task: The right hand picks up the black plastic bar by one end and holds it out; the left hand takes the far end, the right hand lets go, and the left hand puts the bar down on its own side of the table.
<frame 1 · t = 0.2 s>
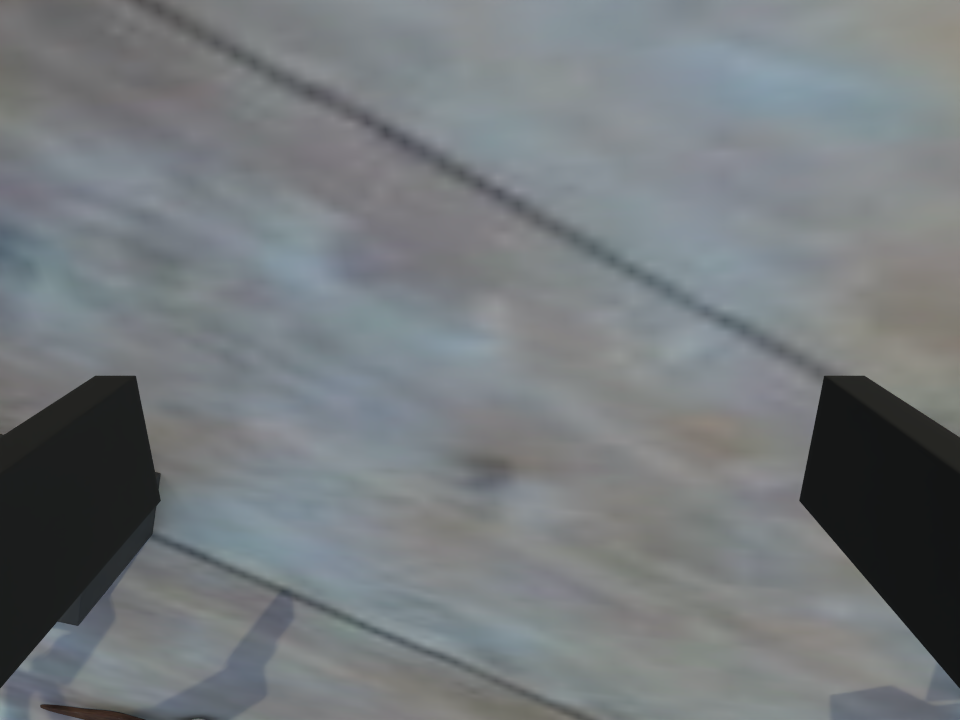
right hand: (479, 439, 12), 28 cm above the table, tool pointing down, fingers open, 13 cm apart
fork: (146, 716, 52), on the table
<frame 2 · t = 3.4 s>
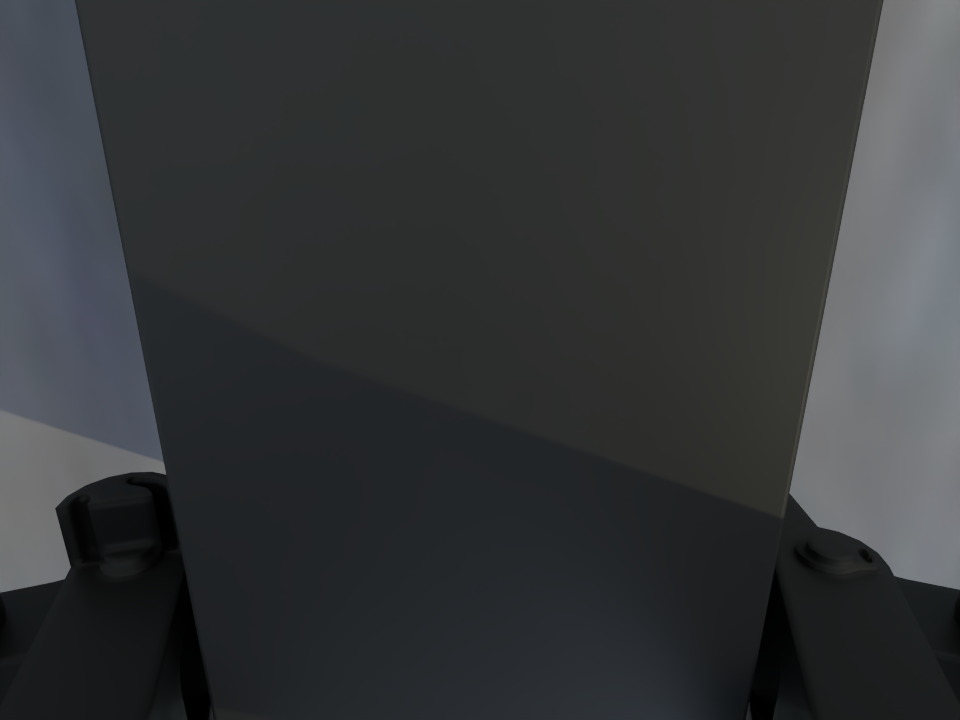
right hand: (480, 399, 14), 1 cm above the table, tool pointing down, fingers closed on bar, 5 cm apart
bar: (479, 0, 12), on the table, touching right hand
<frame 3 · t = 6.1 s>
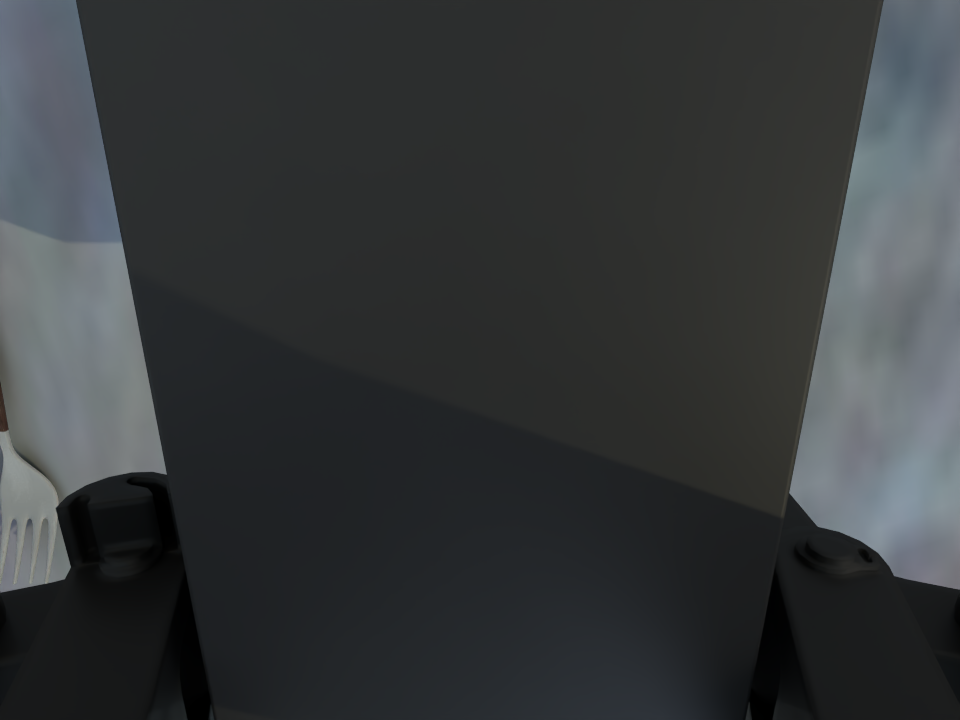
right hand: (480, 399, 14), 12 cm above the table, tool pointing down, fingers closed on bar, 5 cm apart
bar: (479, 0, 12), point 12 cm above the table, touching right hand
fork: (5, 399, 27), on the table
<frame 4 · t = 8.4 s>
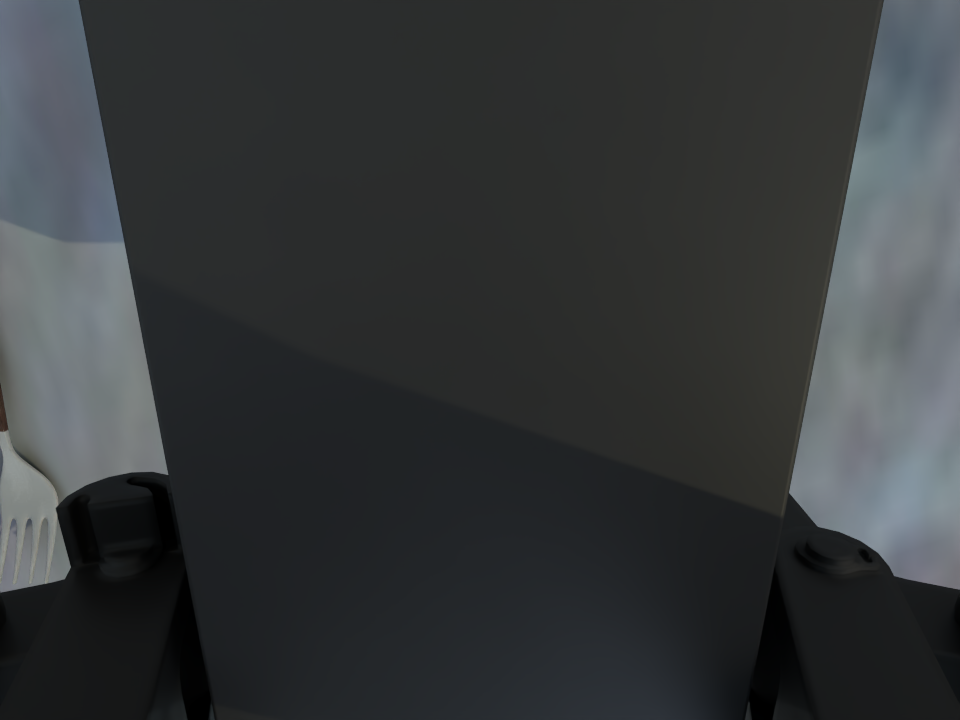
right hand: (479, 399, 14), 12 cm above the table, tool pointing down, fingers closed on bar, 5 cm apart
bar: (480, 0, 12), point 12 cm above the table, touching right hand, left hand
fork: (4, 399, 27), on the table
when the right hand's fingers open (12 cm above the table, at t = 9.1 s): bar stays where it is, held by the left hand.
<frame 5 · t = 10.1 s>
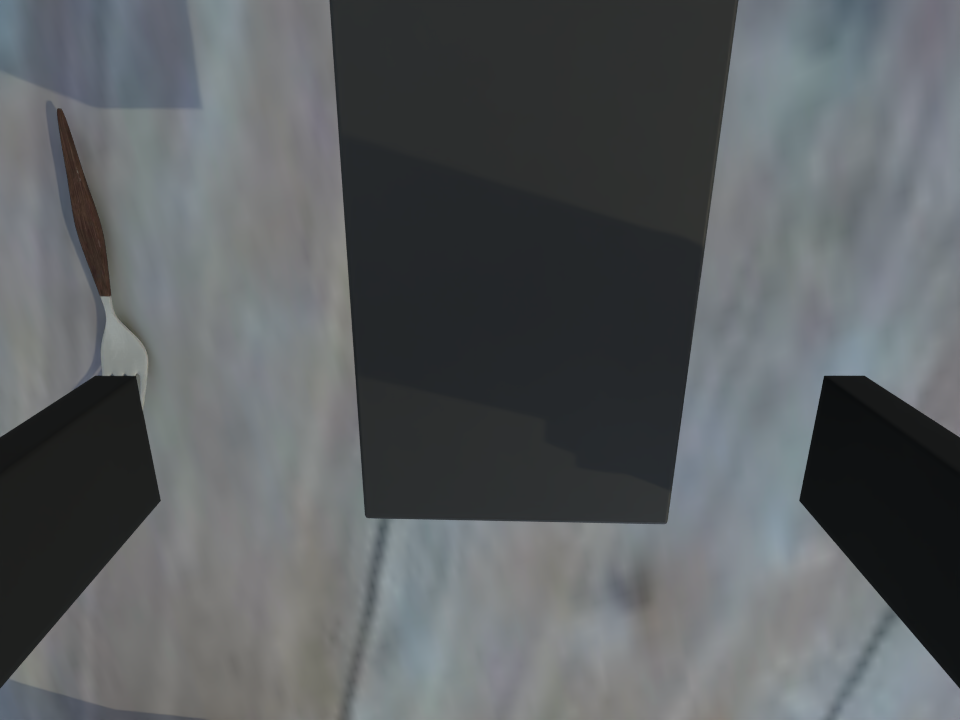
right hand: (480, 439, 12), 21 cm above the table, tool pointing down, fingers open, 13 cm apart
fork: (108, 271, 33), on the table
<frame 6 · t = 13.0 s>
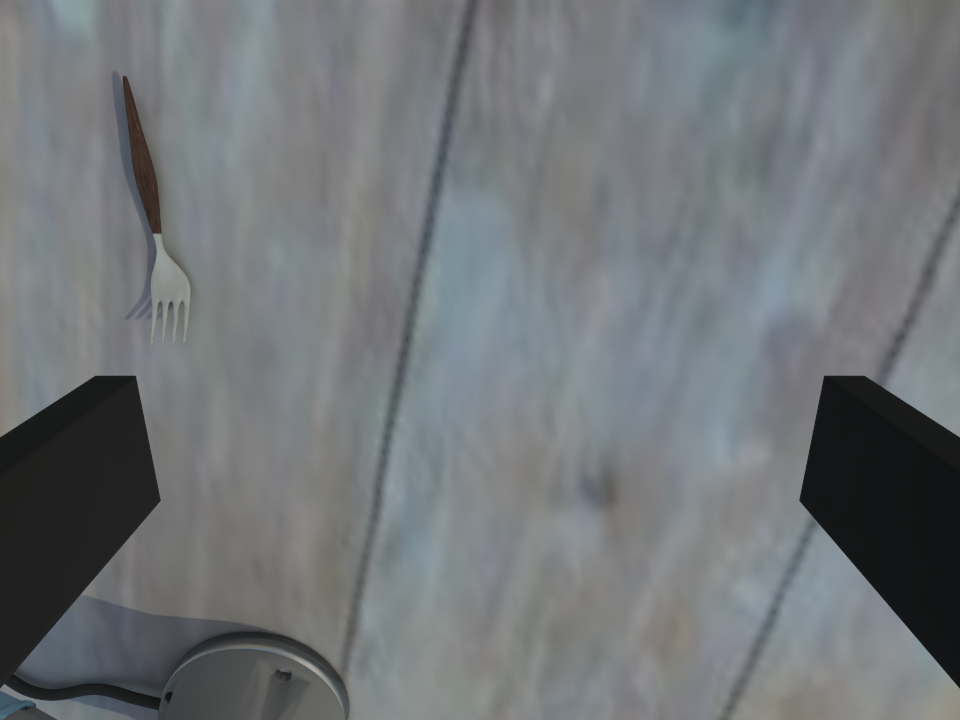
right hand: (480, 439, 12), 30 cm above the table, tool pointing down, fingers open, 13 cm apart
fork: (158, 213, 40), on the table
when the left hand's fingers open (6 cm above the table, at t = 17.9 s): bar drops 1 cm, on the table.
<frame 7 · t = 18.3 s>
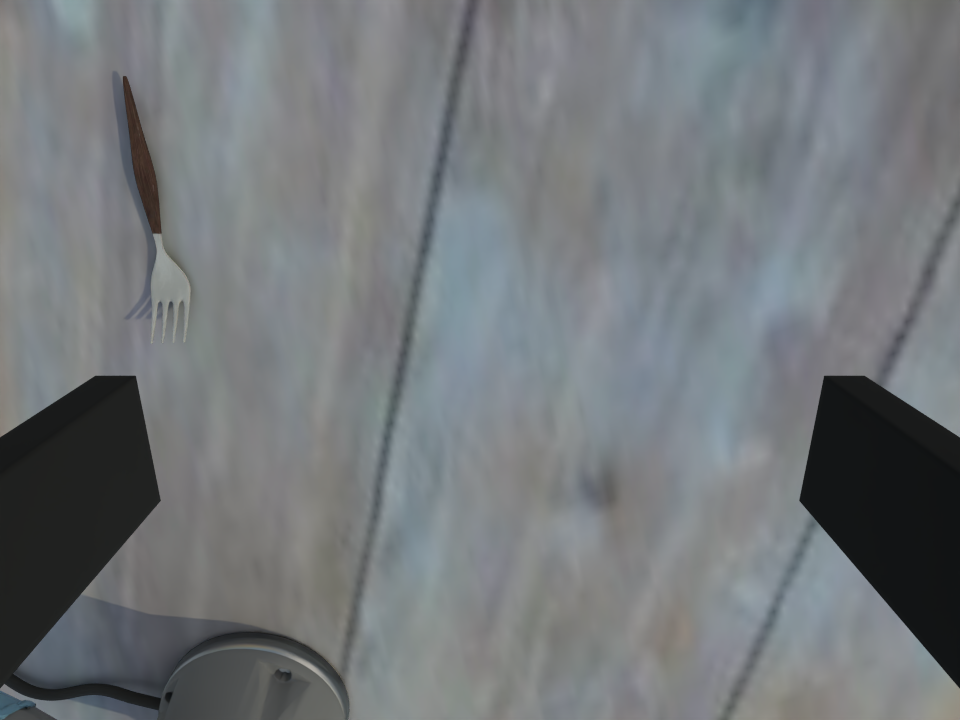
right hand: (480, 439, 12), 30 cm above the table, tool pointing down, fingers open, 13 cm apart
fork: (158, 213, 40), on the table
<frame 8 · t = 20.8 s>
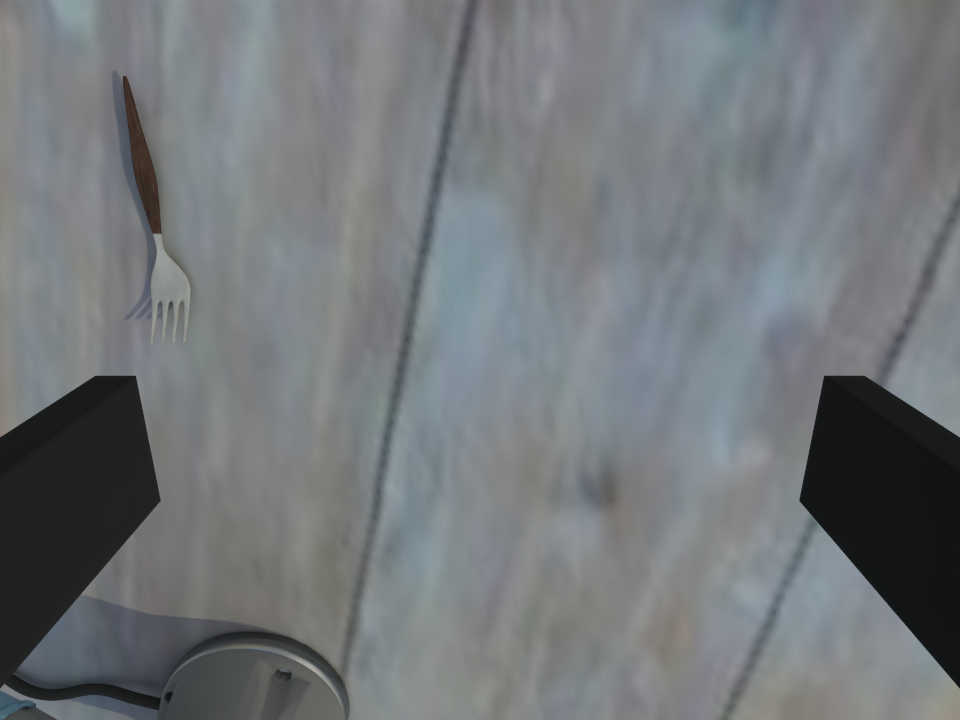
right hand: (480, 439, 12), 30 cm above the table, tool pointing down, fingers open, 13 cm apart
fork: (158, 213, 40), on the table
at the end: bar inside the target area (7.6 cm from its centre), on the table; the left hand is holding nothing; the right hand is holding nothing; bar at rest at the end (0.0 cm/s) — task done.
